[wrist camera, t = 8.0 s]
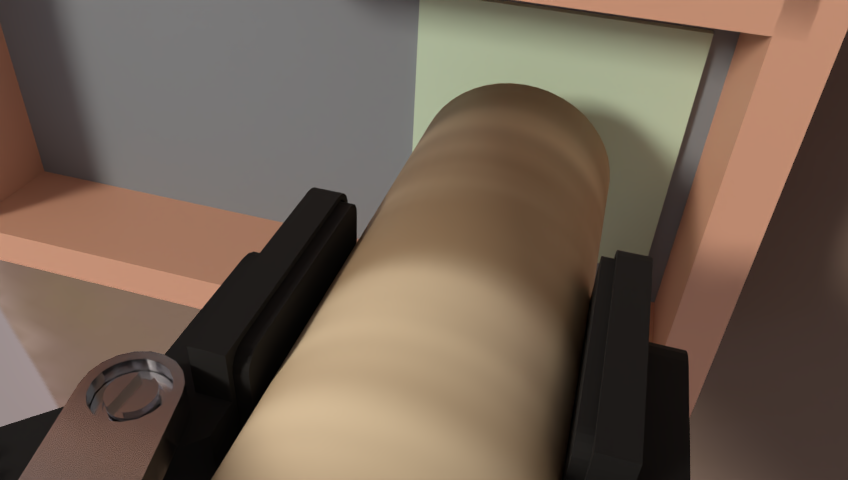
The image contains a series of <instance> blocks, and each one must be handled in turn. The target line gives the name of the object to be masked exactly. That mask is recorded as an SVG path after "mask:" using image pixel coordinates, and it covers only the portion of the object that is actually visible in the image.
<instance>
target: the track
mask: <svg viewBox="0 0 848 480" xmlns="http://www.w3.org/2000/svg"><path fill="white" fill-rule="evenodd" d="M847 30H848V0H0V260H3V261H7V262H12V263H16V264H20V265H24V266H28V267H32V268H36V269H40V270H44V271H48V272H52V273H56V274H60V275H64V276H68V277H73V278H77V279H81V280H85V281H89V282H93V283H97V284H101V285H105V286H109V287H113V288H117V289H121V290H125V291H129V292H134V293H138V294H142V295H146V296H150V297H154V298H158V299H162V300H166V301H170V302H174V303H178V304H182V305H186V306H190V307H195V308H199V309H202V308H203V307H204V306H205V304H206V303H207V302H208V301H209V299H210V298H211V297H212V296H213V294H214V293H215V292H216V291H217V289H218V288H219V287H220V286H221V285H222V283H223V282H224V281H225V280H226V278H227V277H228V276H229V275H230V273H231V272H232V271H233V270H234V269H235V267H236V266H237V265H238V264H239V262H240V261H241V260H242V259H243V258H244V257H245V256H246V255H247V254H248V253H251V252H253V251H254V252H258V253H260V252H261V251H262V249H263V248H264V247H265V246H266V244H267V243H268V242H269V240H270V239H271V238H272V237H273V235H274V234H275V233H276V232H277V230H278V229H279V228H280V226H281V225H282V224H283V223H284V221H285V220H286V219H287V218H288V216H289V215H290V214H291V213H292V211H293V210H294V209H295V207H296V206H297V205H298V204H299V202H300V201H301V200H302V199H303V197H304V196H305V195H306V193H307V192H308V191H309V190H310V189H311V188H314V187H316V188H320V189H325V190H330V191H335V192H340V193H344V194H345V195H346V196H347V199H348V203H351V204H355V205H356V208H357V242H358V240H359V238H360V237H361V235H362V233H363V232H364V230H365V229H366V227H367V225H368V224H369V222H370V220H371V219H372V217H373V216H374V214H375V212H376V211H377V209H378V207H379V206H380V204H381V203H382V201H383V199H384V198H385V196H386V194H387V193H388V191H389V190H390V188H391V186H392V185H393V183H394V181H395V180H396V178H397V177H398V175H399V173H400V172H401V170H402V168H403V167H404V165H405V164H406V162H407V160H408V159H409V157H410V155H411V154H412V152H413V151H414V149H415V147H416V146H417V144H418V142H419V141H420V139H421V138H422V136H423V134H424V133H425V131H426V129H427V128H428V126H429V125H430V123H431V122H432V120H433V118H434V117H435V116H436V114H437V113H438V112H439V111H440V110H441V109H442V108H443V107H444V106H445V105H446V104H447V103H449V102H450V101H451V100H452V99H454V98H456V97H457V96H459V95H461V94H462V93H465V92H467V91H469V90H472V89H474V88H478V87H481V86H485V85H491V84H498V83H515V84H525V85H529V86H533V87H538V88H541V89H543V90H546V91H549V92H551V93H553V94H555V95H557V96H559V97H561V98H563V99H565V100H566V101H567V102H569V103H570V104H572V105H573V106H575V107H576V108H577V109H578V110H579V111H580V112H581V113H583V114H584V115H585V117H586V118H587V119H588V120H589V121H590V122H591V123H592V125H593V126H594V128H595V129H596V131H597V132H598V134H599V135H600V137H601V140H602V142H603V144H604V146H605V149H606V152H607V156H608V160H609V167H610V182H609V189H608V195H607V202H606V208H605V215H604V222H603V228H602V235H601V241H600V248H599V255H598V261H597V268H596V274H597V270H598V266H599V263H600V259H601V256H604V257H609V258H614V257H615V254H616V251H617V250H620V251H625V252H630V253H635V254H640V255H644V256H649V257H652V258H653V267H652V287H651V307H650V326H649V342H652V343H656V344H660V345H665V346H669V347H673V348H678V349H682V350H686V351H687V353H688V360H689V418H690V416H691V413H692V411H693V408H694V406H695V404H696V401H697V399H698V396H699V394H700V391H701V389H702V386H703V384H704V381H705V379H706V376H707V374H708V372H709V369H710V367H711V364H712V362H713V359H714V357H715V354H716V352H717V349H718V347H719V344H720V342H721V340H722V337H723V335H724V332H725V330H726V327H727V325H728V322H729V320H730V317H731V315H732V312H733V310H734V308H735V305H736V303H737V300H738V298H739V295H740V293H741V290H742V288H743V285H744V283H745V281H746V278H747V276H748V273H749V271H750V268H751V266H752V263H753V261H754V258H755V256H756V253H757V251H758V249H759V246H760V244H761V241H762V239H763V236H764V234H765V231H766V229H767V226H768V224H769V221H770V219H771V217H772V214H773V212H774V209H775V207H776V204H777V202H778V199H779V197H780V194H781V192H782V189H783V187H784V185H785V182H786V180H787V177H788V175H789V172H790V170H791V167H792V165H793V162H794V160H795V157H796V155H797V153H798V150H799V148H800V145H801V143H802V140H803V138H804V135H805V133H806V130H807V128H808V126H809V123H810V121H811V118H812V116H813V113H814V111H815V108H816V106H817V103H818V101H819V98H820V96H821V94H822V91H823V89H824V86H825V84H826V81H827V79H828V76H829V74H830V71H831V69H832V66H833V64H834V62H835V59H836V57H837V54H838V52H839V49H840V47H841V44H842V42H843V39H844V37H845V34H846V32H847ZM596 274H595V278H596ZM594 282H595V281H594Z"/></svg>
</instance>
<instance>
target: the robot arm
mask: <svg viewBox="0 0 848 480" xmlns="http://www.w3.org/2000/svg"><path fill="white" fill-rule="evenodd" d="M356 243H357V208H356V205H355V204H351V203H348V199H347V196H346V195H345V194H344V193H340V192H335V191H330V190H325V189H320V188H316V187H314V188H311V189H310V190H309V191H308V192H307V193H306V195H305V196H304V197H303V199H302V200H301V201H300V202H299V204H298V205H297V206H296V207H295V209H294V210H293V211H292V213H291V214H290V215H289V216H288V218H287V219H286V220H285V221H284V223H283V224H282V225H281V226H280V228H279V229H278V230H277V232H276V233H275V234H274V235H273V237H272V238H271V239H270V240H269V242H268V243H267V244H266V246H265V247H264V248H263V249H262V251H261V252H260V253H258V252H254V251H253V252H251V253H248V254H247V255H246V256H245V257H244V258H243V259H242V260H241V261H240V262H239V264H238V265H237V266H236V267H235V269H234V270H233V271H232V272H231V273H230V275H229V276H228V277H227V278H226V280H225V281H224V282H223V283H222V285H221V286H220V287H219V288H218V289H217V291H216V292H215V293H214V294H213V296H212V297H211V298H210V299H209V301H208V302H207V303H206V304H205V306H204V307H203V308H202V309H201V310H200V312H199V313H198V314H197V315H196V317H195V318H194V319H193V320H192V322H191V323H190V324H189V325H188V327H187V328H186V329H185V330H184V331H183V333H182V334H181V335H180V336H179V338H178V339H177V340H176V341H175V343H174V344H173V345H172V346H171V347H170V349H169V350H168V351H167V352H166V354H165V355H164V354H159V353H155V352H151V351H149V352H131V353H126V354H122V355H118V356H115V357H113V358H111V359H108V360H106V361H104V362H102V363H100V364H99V365H98V366H96V367H95V368H93V369H92V370H91V371H89V372H88V373H87V375H86V376H85V377H84V378H83V379H82V380H81V382H80V383H79V384H78V386H77V387H76V389H75V390H74V392H73V394H72V395H71V397H70V398H69V400H68V402H67V403H66V405H65V406H64V407H61V408H58V409H55V410H52V411H49V412H46V413H43V414H40V415H36V416H33V417H30V418H27V419H25V420H21V421H18V422H15V423H11V424H8V425H6V426H2V427H0V480H211V479H212V477H213V475H214V474H215V472H216V471H217V469H218V467H219V466H220V464H221V462H222V461H223V459H224V458H225V456H226V454H227V453H228V451H229V449H230V448H231V446H232V445H233V443H234V441H235V440H236V438H237V436H238V435H239V433H240V432H241V430H242V428H243V427H244V425H245V423H246V422H247V420H248V419H249V417H250V415H251V414H252V412H253V410H254V409H255V407H256V406H257V404H258V402H259V401H260V399H261V397H262V396H263V394H264V393H265V391H266V389H267V388H268V386H269V384H270V383H271V381H272V380H273V378H274V376H275V375H276V373H277V371H278V370H279V368H280V367H281V365H282V363H283V362H284V360H285V358H286V357H287V355H288V354H289V352H290V350H291V349H292V347H293V345H294V344H295V342H296V341H297V339H298V337H299V336H300V334H301V332H302V331H303V329H304V328H305V326H306V324H307V323H308V321H309V319H310V318H311V316H312V315H313V313H314V311H315V310H316V308H317V306H318V305H319V303H320V302H321V300H322V298H323V297H324V295H325V293H326V292H327V290H328V289H329V287H330V285H331V284H332V282H333V280H334V279H335V277H336V276H337V274H338V272H339V271H340V269H341V268H342V266H343V264H344V263H345V261H346V259H347V258H348V256H349V255H350V253H351V251H352V250H353V248H354V246H355V245H356ZM652 267H653V258H652V257H649V256H644V255H640V254H635V253H630V252H625V251H620V250H617V251H616V254H615V257H614V258H609V257H604V256H601V259H600V263H599V266H598V270H597V274H596V278H595V282H594V286H593V290H592V294H591V298H590V303H589V310H588V316H587V323H586V329H585V335H584V342H583V348H582V355H581V361H580V368H579V374H578V380H577V387H576V393H575V400H574V406H573V413H572V419H571V426H570V432H569V438H568V445H567V451H566V458H565V464H564V471H563V477H562V480H690V425H689V360H688V353H687V351H686V350H682V349H678V348H673V347H669V346H665V345H660V344H656V343H652V342H649V326H650V307H651V287H652Z"/></svg>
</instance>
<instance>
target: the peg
mask: <svg viewBox="0 0 848 480" xmlns="http://www.w3.org/2000/svg"><path fill="white" fill-rule="evenodd" d="M609 182H610V167H609V160H608V156H607V152H606V149H605V146H604V144H603V142H602V140H601V137H600V135H599V134H598V132H597V131H596V129H595V128H594V126H593V125H592V123H591V122H590V121H589V120H588V119H587V118H586V117H585V115H584V114H583V113H581V112H580V111H579V110H578V109H577V108H576V107H575V106H573V105H572V104H570V103H569V102H567V101H566V100H565V99H563V98H561V97H559V96H557V95H555V94H553V93H551V92H549V91H546V90H543V89H541V88H538V87H533V86H529V85H525V84H515V83H498V84H491V85H485V86H481V87H478V88H474V89H472V90H469V91H467V92H465V93H462V94H461V95H459V96H457V97H456V98H454V99H452V100H451V101H450V102H449V103H447V104H446V105H445V106H444V107H443V108H442V109H441V110H440V111H439V112H438V113H437V114H436V116H435V117H434V118H433V120H432V122H431V123H430V125H429V126H428V128H427V129H426V131H425V133H424V134H423V136H422V138H421V139H420V141H419V142H418V144H417V146H416V147H415V149H414V151H413V152H412V154H411V155H410V157H409V159H408V160H407V162H406V164H405V165H404V167H403V168H402V170H401V172H400V173H399V175H398V177H397V178H396V180H395V181H394V183H393V185H392V186H391V188H390V190H389V191H388V193H387V194H386V196H385V198H384V199H383V201H382V203H381V204H380V206H379V207H378V209H377V211H376V212H375V214H374V216H373V217H372V219H371V220H370V222H369V224H368V225H367V227H366V229H365V230H364V232H363V233H362V235H361V237H360V238H359V240H358V242H357V243H356V245H355V246H354V248H353V250H352V251H351V253H350V255H349V256H348V258H347V259H346V261H345V263H344V264H343V266H342V268H341V269H340V271H339V272H338V274H337V276H336V277H335V279H334V280H333V282H332V284H331V285H330V287H329V289H328V290H327V292H326V293H325V295H324V297H323V298H322V300H321V302H320V303H319V305H318V306H317V308H316V310H315V311H314V313H313V315H312V316H311V318H310V319H309V321H308V323H307V324H306V326H305V328H304V329H303V331H302V332H301V334H300V336H299V337H298V339H297V341H296V342H295V344H294V345H293V347H292V349H291V350H290V352H289V354H288V355H287V357H286V358H285V360H284V362H283V363H282V365H281V367H280V368H279V370H278V371H277V373H276V375H275V376H274V378H273V380H272V381H271V383H270V384H269V386H268V388H267V389H266V391H265V393H264V394H263V396H262V397H261V399H260V401H259V402H258V404H257V406H256V407H255V409H254V410H253V412H252V414H251V415H250V417H249V419H248V420H247V422H246V423H245V425H244V427H243V428H242V430H241V432H240V433H239V435H238V436H237V438H236V440H235V441H234V443H233V445H232V446H231V448H230V449H229V451H228V453H227V454H226V456H225V458H224V459H223V461H222V462H221V464H220V466H219V467H218V469H217V471H216V472H215V474H214V475H213V477H212V479H211V480H562V477H563V471H564V464H565V458H566V451H567V445H568V438H569V432H570V426H571V419H572V413H573V406H574V400H575V393H576V387H577V380H578V374H579V368H580V361H581V355H582V348H583V342H584V335H585V329H586V323H587V316H588V310H589V303H590V298H591V294H592V290H593V286H594V281H595V274H596V268H597V261H598V255H599V248H600V241H601V235H602V228H603V222H604V215H605V208H606V202H607V195H608V189H609Z"/></svg>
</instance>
